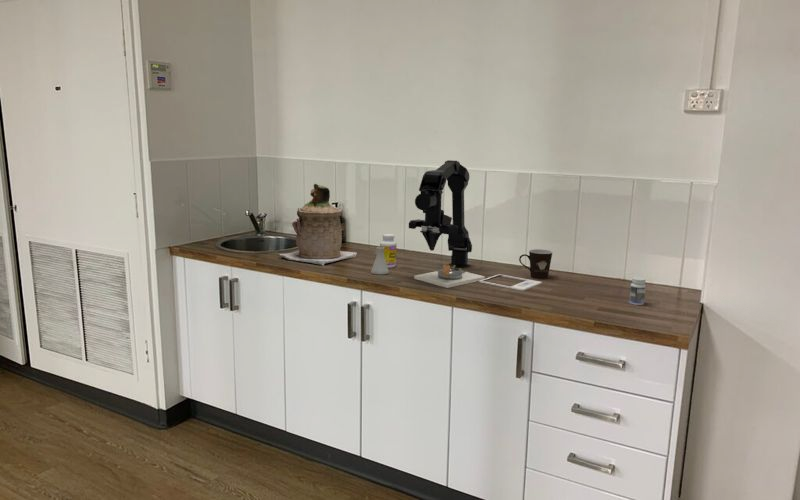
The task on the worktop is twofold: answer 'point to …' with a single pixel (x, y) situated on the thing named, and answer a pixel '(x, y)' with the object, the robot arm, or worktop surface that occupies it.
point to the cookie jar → (318, 231)
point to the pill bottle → (637, 291)
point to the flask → (380, 263)
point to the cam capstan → (449, 272)
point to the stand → (447, 283)
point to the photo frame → (520, 286)
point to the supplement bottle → (389, 250)
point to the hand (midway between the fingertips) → (431, 250)
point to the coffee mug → (539, 263)
